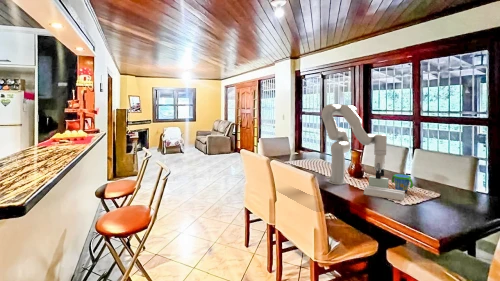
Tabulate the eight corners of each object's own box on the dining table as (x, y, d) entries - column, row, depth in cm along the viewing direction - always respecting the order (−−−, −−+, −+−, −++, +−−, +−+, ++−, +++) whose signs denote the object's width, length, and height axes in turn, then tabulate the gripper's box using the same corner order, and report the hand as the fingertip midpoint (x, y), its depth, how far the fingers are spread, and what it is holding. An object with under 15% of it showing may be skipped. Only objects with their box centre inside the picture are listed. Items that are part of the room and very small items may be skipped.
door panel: (368, 189, 209) (369, 176, 208) (369, 188, 211) (370, 176, 210) (387, 192, 202) (387, 179, 201) (387, 191, 204) (388, 178, 204)
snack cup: (416, 192, 201) (417, 177, 200) (404, 193, 198) (405, 178, 197) (399, 186, 216) (399, 172, 215) (387, 187, 213) (387, 173, 212)
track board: (363, 194, 197) (363, 188, 197) (367, 190, 205) (367, 185, 205) (402, 200, 184) (402, 194, 183) (404, 196, 192) (405, 190, 191)
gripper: (377, 150, 213) (377, 174, 214) (371, 153, 199) (370, 179, 200) (388, 151, 209) (388, 175, 210) (383, 154, 195) (382, 180, 196)
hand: (379, 177), depth 205 cm, fingers open, 9 cm apart
